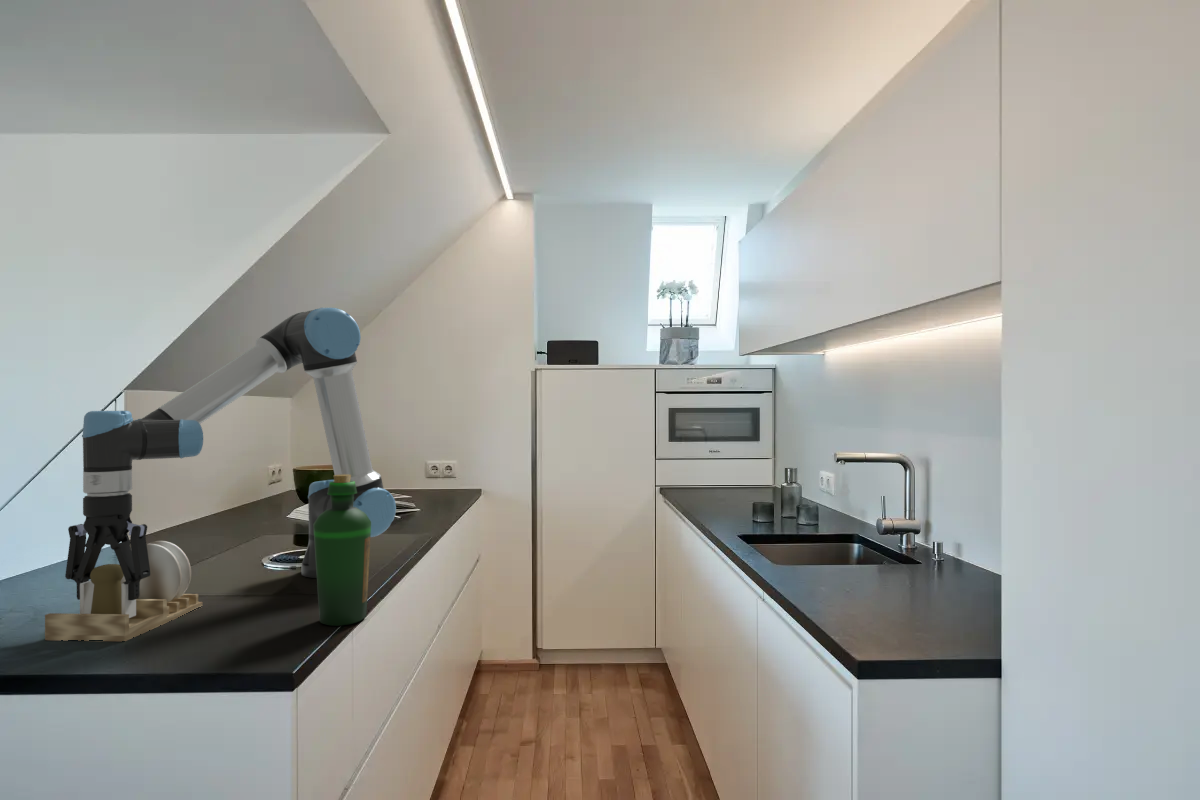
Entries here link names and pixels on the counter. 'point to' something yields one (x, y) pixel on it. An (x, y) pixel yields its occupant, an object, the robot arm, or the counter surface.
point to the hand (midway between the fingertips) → (108, 617)
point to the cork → (107, 589)
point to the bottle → (342, 556)
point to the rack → (153, 606)
